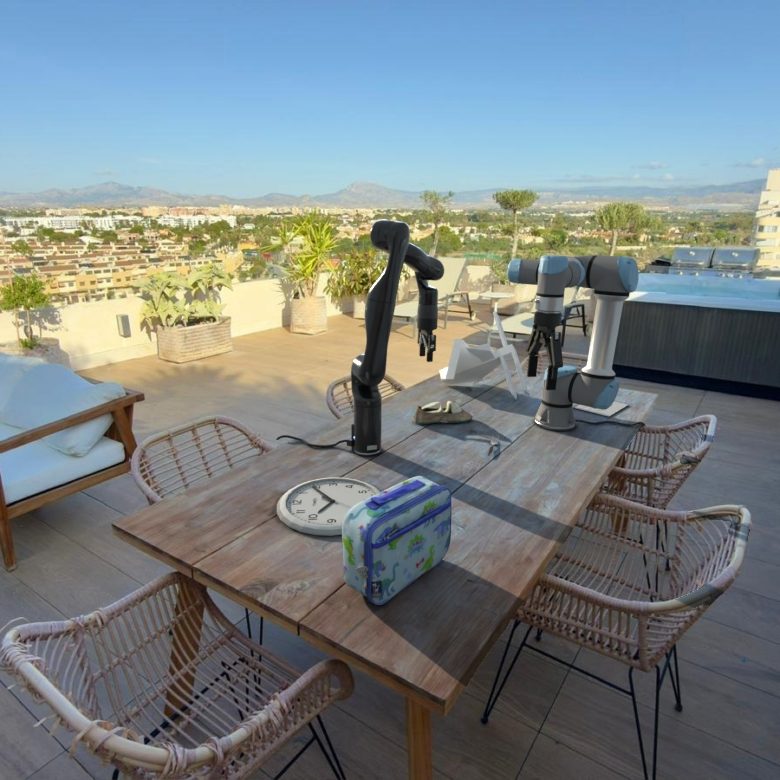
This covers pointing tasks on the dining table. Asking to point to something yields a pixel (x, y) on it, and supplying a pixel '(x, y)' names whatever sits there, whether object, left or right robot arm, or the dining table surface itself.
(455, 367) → the white plastic object
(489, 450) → the fork
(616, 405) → the invitation card
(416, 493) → the lunch box
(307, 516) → the wall clock
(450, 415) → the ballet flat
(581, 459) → the dining table surface
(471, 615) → the dining table surface
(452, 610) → the dining table surface
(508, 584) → the dining table surface
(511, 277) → the right robot arm
